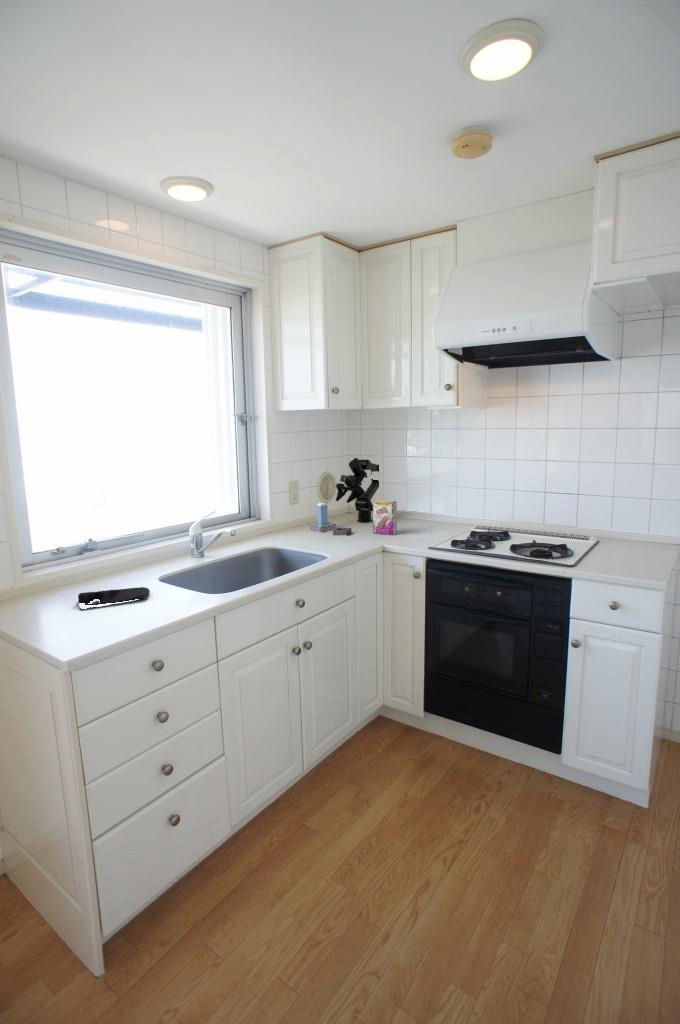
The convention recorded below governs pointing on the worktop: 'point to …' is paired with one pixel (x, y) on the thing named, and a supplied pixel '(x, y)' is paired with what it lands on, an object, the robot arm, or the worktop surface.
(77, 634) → the worktop surface
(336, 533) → the holster
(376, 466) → the robot arm
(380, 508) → the candy bar box
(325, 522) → the light blue tall block
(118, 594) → the dark slate chunk
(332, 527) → the port
